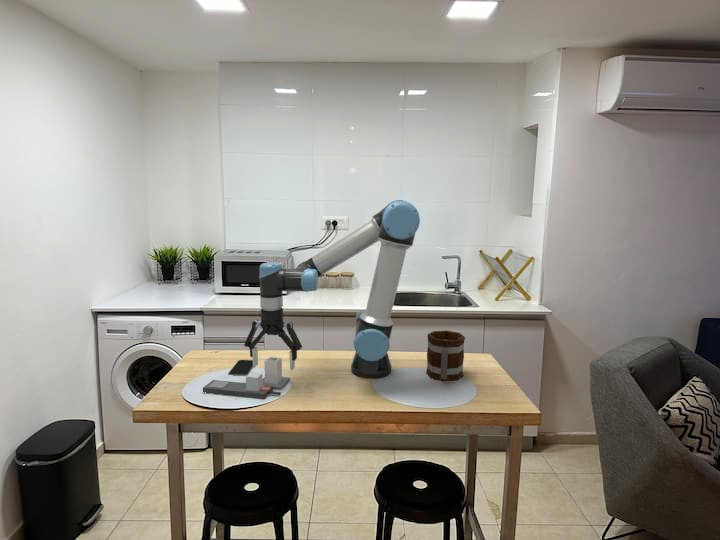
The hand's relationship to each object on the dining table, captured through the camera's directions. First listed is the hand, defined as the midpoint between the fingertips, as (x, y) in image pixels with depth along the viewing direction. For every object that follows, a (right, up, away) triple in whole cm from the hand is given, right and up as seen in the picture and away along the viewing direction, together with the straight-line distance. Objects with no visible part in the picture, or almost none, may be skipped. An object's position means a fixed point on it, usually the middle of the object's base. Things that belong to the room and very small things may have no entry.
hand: (273, 367), depth 173 cm
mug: (+61, -6, +8) cm, 61 cm away
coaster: (0, -6, +1) cm, 6 cm away
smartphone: (-14, -4, +16) cm, 22 cm away
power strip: (-9, -7, -6) cm, 13 cm away
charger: (0, -5, +1) cm, 5 cm away
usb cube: (-5, -5, -7) cm, 10 cm away
